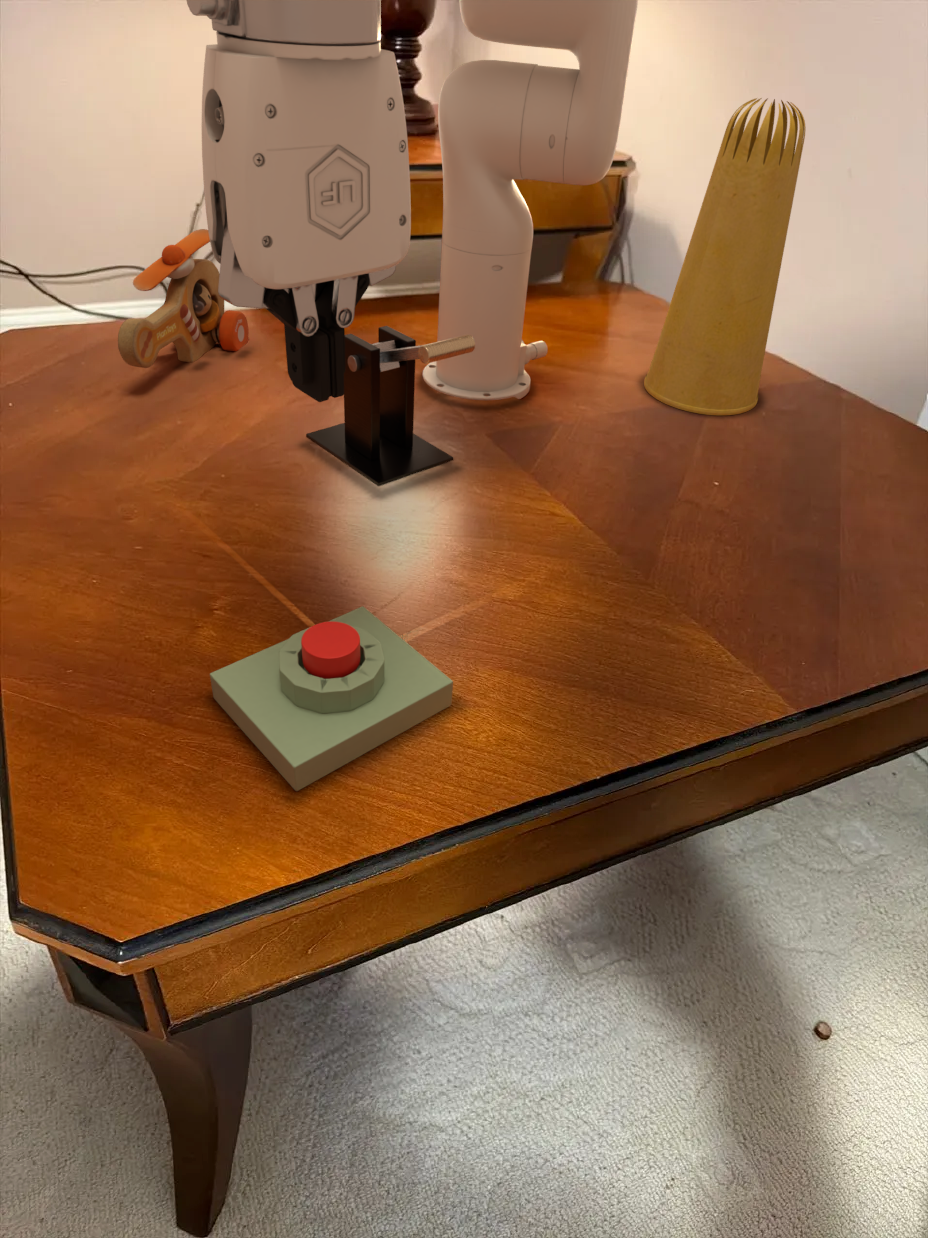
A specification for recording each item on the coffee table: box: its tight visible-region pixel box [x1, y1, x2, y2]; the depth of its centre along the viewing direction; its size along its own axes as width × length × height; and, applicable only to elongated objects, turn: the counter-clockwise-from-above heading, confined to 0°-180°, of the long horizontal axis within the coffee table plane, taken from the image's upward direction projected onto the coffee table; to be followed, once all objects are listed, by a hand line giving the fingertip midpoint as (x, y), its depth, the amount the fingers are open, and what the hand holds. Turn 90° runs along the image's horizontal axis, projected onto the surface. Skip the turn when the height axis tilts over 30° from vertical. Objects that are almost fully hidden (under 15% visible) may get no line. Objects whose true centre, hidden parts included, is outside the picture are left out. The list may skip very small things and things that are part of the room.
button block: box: [209, 605, 454, 792], centre depth 54 cm, size 12×10×4 cm
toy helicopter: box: [117, 228, 250, 369], centre depth 92 cm, size 8×21×14 cm, turn 168°
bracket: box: [305, 325, 455, 487], centre depth 79 cm, size 12×9×12 cm
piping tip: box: [643, 97, 806, 416], centre depth 92 cm, size 14×14×30 cm
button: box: [301, 621, 360, 679], centre depth 52 cm, size 4×4×2 cm
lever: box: [371, 335, 475, 372], centre depth 73 cm, size 12×5×2 cm, turn 41°
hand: (317, 390), depth 50 cm, fingers closed
